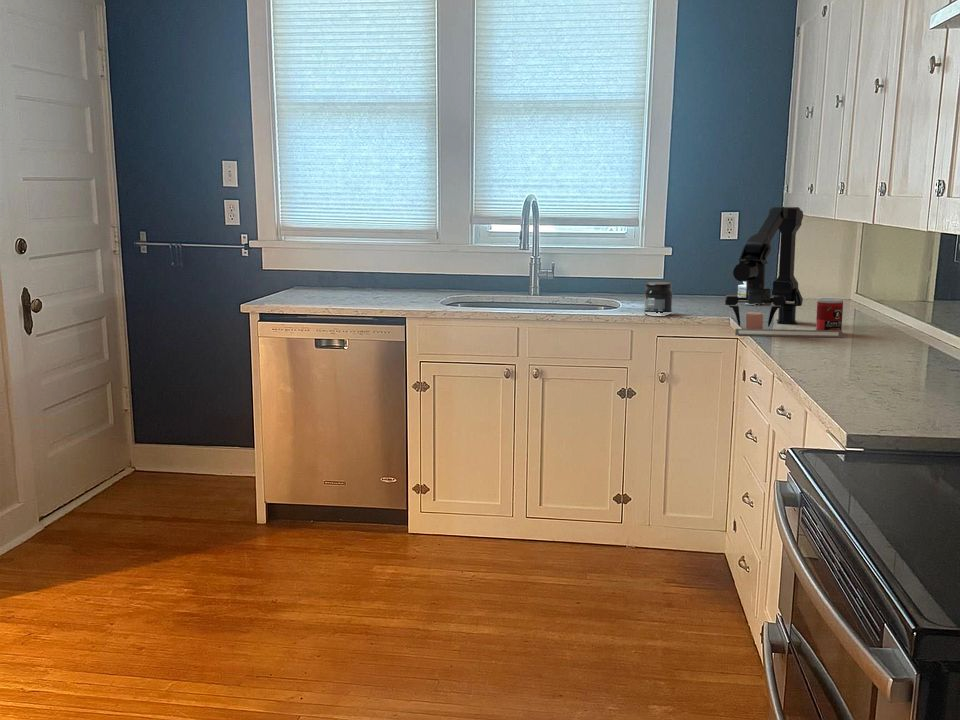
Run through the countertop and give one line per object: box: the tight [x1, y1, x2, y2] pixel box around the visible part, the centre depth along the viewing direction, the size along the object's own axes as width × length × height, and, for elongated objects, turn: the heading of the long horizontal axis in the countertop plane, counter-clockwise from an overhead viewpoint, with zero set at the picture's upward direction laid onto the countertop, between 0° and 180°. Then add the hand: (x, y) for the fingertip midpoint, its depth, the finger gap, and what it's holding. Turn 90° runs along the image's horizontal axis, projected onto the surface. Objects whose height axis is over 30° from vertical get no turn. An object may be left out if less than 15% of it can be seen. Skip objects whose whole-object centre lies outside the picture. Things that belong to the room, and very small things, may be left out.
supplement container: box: [643, 281, 674, 313], centre depth 334 cm, size 10×10×12 cm
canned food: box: [815, 297, 844, 332], centre depth 284 cm, size 8×8×11 cm
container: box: [737, 281, 765, 305], centre depth 359 cm, size 8×8×13 cm
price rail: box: [734, 328, 843, 338], centre depth 282 cm, size 1×32×2 cm, turn 76°
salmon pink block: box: [744, 311, 764, 329], centre depth 291 cm, size 5×8×6 cm
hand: (753, 326), depth 292 cm, fingers open, 9 cm apart
